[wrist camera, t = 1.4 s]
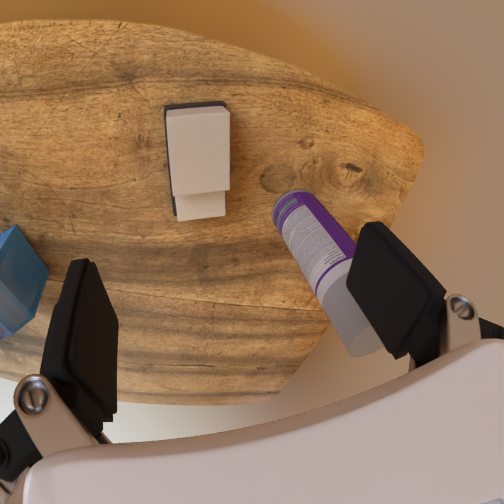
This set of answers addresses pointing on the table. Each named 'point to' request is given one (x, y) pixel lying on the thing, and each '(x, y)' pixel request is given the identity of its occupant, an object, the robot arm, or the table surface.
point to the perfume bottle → (19, 281)
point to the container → (325, 265)
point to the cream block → (198, 158)
